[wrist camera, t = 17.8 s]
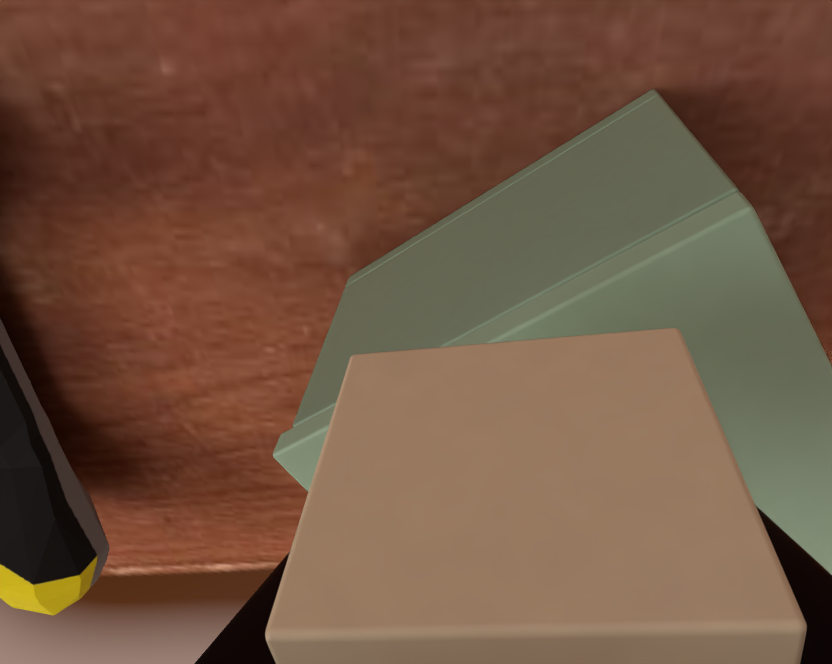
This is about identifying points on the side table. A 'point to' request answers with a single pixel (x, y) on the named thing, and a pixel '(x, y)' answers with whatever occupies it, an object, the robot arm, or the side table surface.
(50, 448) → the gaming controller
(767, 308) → the box lid
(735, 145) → the side table surface
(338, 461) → the block
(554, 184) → the box
